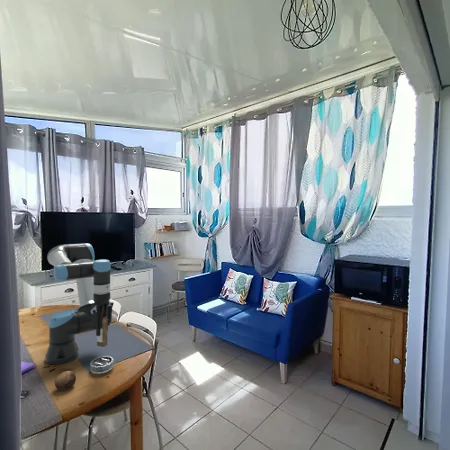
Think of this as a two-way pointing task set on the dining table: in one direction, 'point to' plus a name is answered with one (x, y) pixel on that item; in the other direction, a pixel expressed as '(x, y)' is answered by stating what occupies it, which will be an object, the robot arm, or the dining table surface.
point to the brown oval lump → (65, 380)
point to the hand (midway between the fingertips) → (102, 340)
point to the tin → (101, 365)
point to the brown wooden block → (104, 327)
